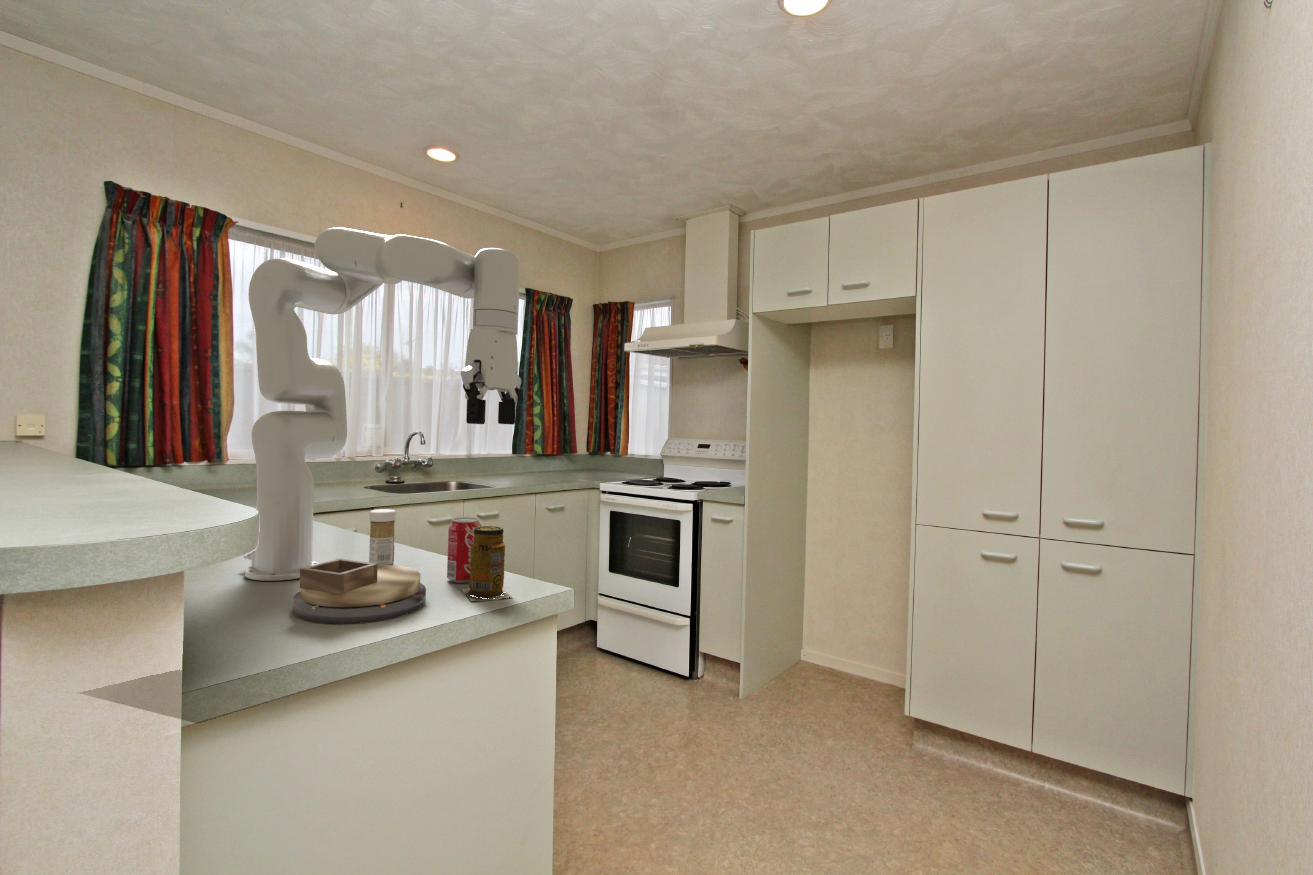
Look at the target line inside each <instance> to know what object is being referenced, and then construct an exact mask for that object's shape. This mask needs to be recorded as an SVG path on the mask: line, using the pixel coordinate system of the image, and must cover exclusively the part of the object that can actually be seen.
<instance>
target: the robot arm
mask: <svg viewBox="0 0 1313 875" xmlns="http://www.w3.org/2000/svg"><path fill="white" fill-rule="evenodd" d="M314 252H315V255H316V258H317V259H318V261H319V263H320V264H322V265H323V267H325V268H326V269H325V268H322V267H318V266H315V265H313V264H310V263H306V262H303V261H299V260H295V259H290V258H282V257H281V258H280V257H279V258H278V257H277V258H271V259H267V260H265V261H263V262H262V263H261V264H260V265H259V266H257V268H256V269H255V271H254V272H253V274H252V276H251V278H250V281H249V286H248V303H249V308H250V312H251V316H252V320H253V325H254V326H253V327H254V329H255V330H254V331H255V346H256V365H257V366H256V367H257V379H258V381H257V382H258V388H259V392H260V393H261V395H262V397H263V398H264V399H265V400H267V401H269V402H272V403H277V404H287V405H301V406H303V405H304V406H305V407H304V408H305V411H304V410H275V411H271V412H268V413H265V414H263V415H261V416H260V417H259V418H258V419H257V420H255V422H254V423H253V426H252V428H251V444H252V449H253V454H254V459H255V468H256V504H255V505H256V508H255V510H258V511H259V514H260V532H259V544H258V547H257V549H256V550H255V551H253V552H252V553H250V554H248V555H247V556H244V555H243V559H245V560H251V565H250V566H248V567H247V568H246V569H245V570H244V577H246V578H247V579H249V580H252V581H253V580H254V581H262V582H267V581H268V582H274V581H276V582H277V581H288V580H289V581H290V580H296V579H297V580H298V579H300V569H302V568H305V567H309V566H313V565H317V564H321V563H320V562H318V561H315V560H313V536H314V535H313V532H314V503H315V502H314V501H315V500H314V498H315V493H314V492H315V483H314V482H315V481H314V476H313V474H312V471H311V470H310V467H309V465H308V463H307V461H306V460H309V459H323V458H324V459H325V458H332V457H335V456H336V455H338V454H340V452H341V451H342V450H343V449H344V447H345V445H346V443H347V438H348V418H347V417H348V416H347V400H346V397H347V396H346V385H345V380H344V377H343V375H342V373H341V371H340V370H339V368H338V367H337V366H336V365H335V364H333V363H332V362H330V361H328V360H325V359H321V358H320V359H319V358H313V357H310V355H309V349H308V336H307V331H306V328H305V326H304V324H303V322H302V321H301V319H300V317H299V316H298V314H297V312H296V310H295V309H296V308H299V309H304V310H309V311H313V312H318V313H322V314H327V315H341V314H345V313H346V312H347V311H350V310H351V309H352V308H354V307H356V305H358V304H359V303H360V302H362V301H363V300H364V299H366V298H367V297H368V296H370V295H371V294H372V293H374V292H375V291H376V290H377V289H379V288H380V287H381V286H382V285H384V284H386V285H393V286H394V285H396V284H397V285H398V284H399V283H401V282H402V281H403V282H408V283H413V284H418V285H422V286H427V287H430V288H433V289H437V290H439V291H442V292H444V293H445V292H446V293H448V294H451V295H452V296H457V297H459V298H464V299H472V300H473V302H472V303H473V304H472V324H471V325H472V328H471V329H470V332H469V336H468V338H467V339H468V340H467V346H466V352H465V361H464V368H463V369H462V370H461V371H460V376H461V381H462V383H463V384H462V389H463V390H464V392H465V394H464V398H465V399H466V423H467V425H468V424H471V425H484V424H486V408H487V406H486V405H487V401H486V399H484V398H485V396H486V394H487V392H488V391H495V390H496V391H497V393H498V396H499V398H500V401H498V409H497V424H499V425H515V424H516V413H517V412H516V411H517V408H516V407H517V403H518V399H519V398H518V397H519V394H520V390H521V389H520V388H521V385H522V378H521V377H520V376H519V372H518V370H519V365H518V364H519V363H518V362H519V359H518V357H519V356H518V354H519V353H518V341H517V340H518V339H517V335H518V332H519V331H518V329H519V327H518V326H519V325H518V324H519V303H520V302H519V300H520V279H521V278H520V277H521V276H520V274H521V273H520V272H521V262H520V257H518V255H517V254H516V253H515V252H514V251H510V250H508V249H503V248H496V247H487V248H482V249H480V250H478V251H477V252H476V254H475V255H472V254H470V253H467V252H465V251H463V250H460V249H459V248H456V247H454V246H452V245H450V244H448V243H447V244H446V243H445V242H442V241H438V240H434V239H431V238H430V239H429V238H425V237H419V236H413V235H407V234H395V235H387V234H382V233H381V234H380V233H376V232H375V233H374V232H369V231H363V230H358V229H353V228H346V227H332V228H331V227H330V228H327V229H324V230H323V231H322V232H320V233H319V234H318V235H317V236H316V239H315V241H314Z"/></svg>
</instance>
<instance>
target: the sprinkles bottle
mask: <svg viewBox="0 0 1313 875" xmlns="http://www.w3.org/2000/svg"><path fill="white" fill-rule="evenodd" d="M396 514H397V511H396V510H395V509H391V508H380V509H379V508H378V509H377V508H376V509H372V510H370V511H369V523H370V528H369V529H370V533H369V534H370V535H369V557H368V559H369V560H368V563H375V564H378V565H394V564H395V563H394V562H395V523H396V518H397V517H396Z"/></svg>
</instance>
